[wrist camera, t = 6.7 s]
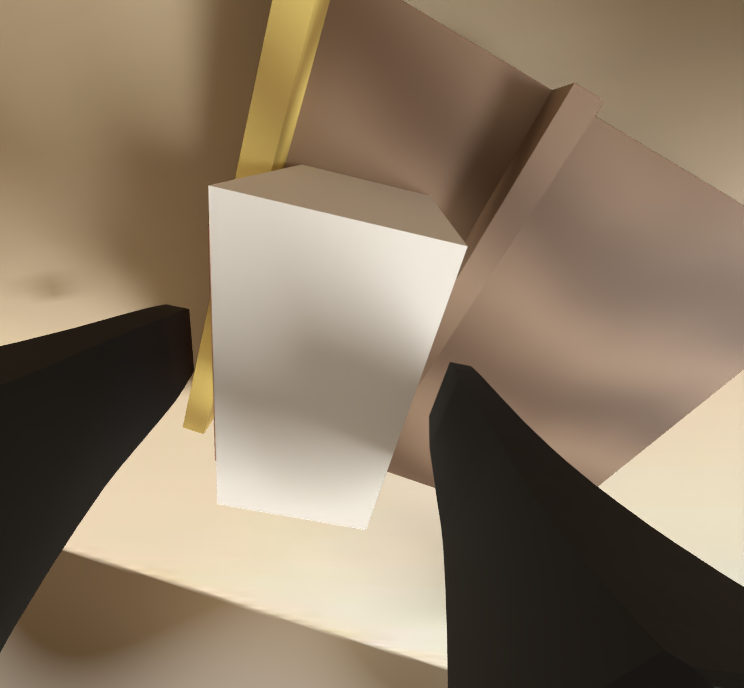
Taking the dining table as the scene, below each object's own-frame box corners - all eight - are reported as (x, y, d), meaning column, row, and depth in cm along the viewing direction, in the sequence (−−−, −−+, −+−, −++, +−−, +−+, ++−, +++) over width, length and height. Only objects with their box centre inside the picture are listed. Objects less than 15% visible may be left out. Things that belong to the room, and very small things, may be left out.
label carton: (290, 161, 12) (184, 179, 6) (429, 195, 12) (467, 246, 6) (273, 369, 16) (204, 501, 10) (375, 390, 17) (365, 530, 11)
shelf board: (316, -33, 10) (291, -92, 8) (817, 263, 14) (913, 290, 11) (211, 388, 19) (182, 427, 16) (538, 504, 23) (557, 551, 20)
